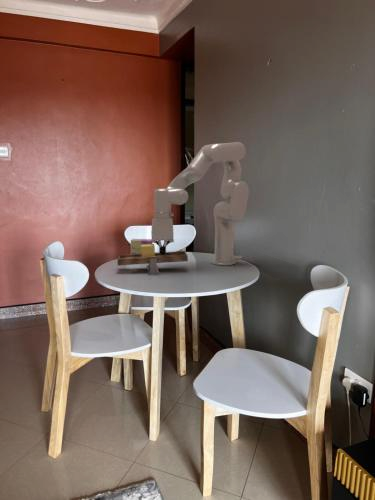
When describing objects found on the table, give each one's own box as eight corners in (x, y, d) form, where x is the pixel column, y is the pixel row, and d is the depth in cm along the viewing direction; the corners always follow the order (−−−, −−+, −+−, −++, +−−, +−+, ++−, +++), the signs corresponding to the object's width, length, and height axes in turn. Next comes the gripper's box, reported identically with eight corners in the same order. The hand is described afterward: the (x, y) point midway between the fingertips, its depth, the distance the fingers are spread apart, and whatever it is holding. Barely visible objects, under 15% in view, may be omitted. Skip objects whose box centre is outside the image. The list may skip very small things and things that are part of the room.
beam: (185, 256, 185) (185, 250, 184) (187, 261, 175) (187, 254, 174) (118, 260, 181) (118, 254, 180) (117, 265, 171) (117, 259, 171)
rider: (154, 256, 180) (153, 244, 179) (155, 258, 175) (154, 245, 174) (141, 257, 179) (141, 244, 178) (142, 259, 175) (141, 246, 173)
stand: (157, 266, 187) (157, 252, 186) (158, 274, 171) (158, 259, 169) (147, 266, 187) (146, 252, 185) (147, 275, 170) (147, 259, 169)
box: (152, 261, 199) (152, 238, 197) (150, 263, 193) (150, 240, 191) (133, 260, 200) (132, 238, 198) (130, 262, 194) (130, 240, 192)
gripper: (177, 214, 179) (177, 252, 183) (146, 215, 177) (146, 253, 181) (179, 216, 172) (179, 256, 175) (146, 216, 170) (146, 256, 173)
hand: (162, 254), depth 178 cm, fingers closed
